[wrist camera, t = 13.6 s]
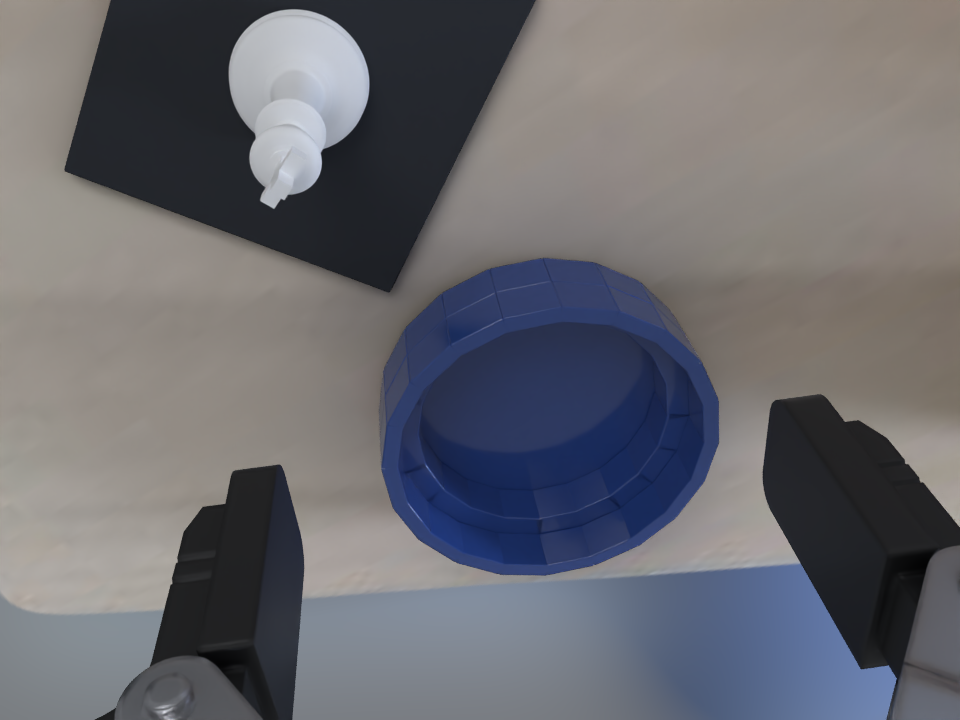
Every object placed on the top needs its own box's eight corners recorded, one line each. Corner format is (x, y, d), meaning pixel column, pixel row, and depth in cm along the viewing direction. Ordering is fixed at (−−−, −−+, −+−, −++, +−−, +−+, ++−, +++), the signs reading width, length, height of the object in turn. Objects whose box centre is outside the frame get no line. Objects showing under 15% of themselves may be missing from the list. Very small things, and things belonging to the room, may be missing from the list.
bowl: (746, 323, 40) (786, 378, 37) (588, 538, 47) (608, 604, 43) (466, 204, 36) (479, 254, 32) (332, 462, 42) (330, 529, 38)
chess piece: (203, 99, 32) (150, 214, 23) (272, -22, 30) (241, 57, 21) (324, 172, 34) (314, 301, 25) (395, 63, 32) (410, 165, 23)
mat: (536, -9, 31) (539, -6, 31) (389, 287, 37) (389, 293, 37) (169, -204, 27) (166, -204, 27) (67, 166, 33) (63, 171, 32)
